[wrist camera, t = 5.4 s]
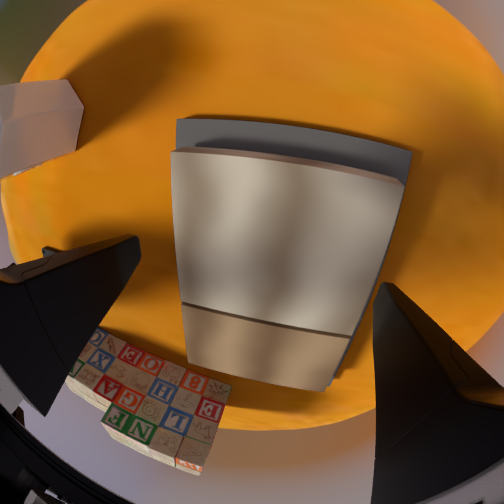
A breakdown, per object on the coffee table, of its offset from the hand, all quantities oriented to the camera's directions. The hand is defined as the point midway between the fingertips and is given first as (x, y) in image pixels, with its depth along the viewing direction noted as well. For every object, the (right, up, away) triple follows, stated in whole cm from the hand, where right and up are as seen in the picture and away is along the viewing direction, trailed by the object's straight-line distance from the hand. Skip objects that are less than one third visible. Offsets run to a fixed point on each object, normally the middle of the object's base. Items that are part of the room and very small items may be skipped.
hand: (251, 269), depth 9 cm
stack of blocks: (-13, -15, +25) cm, 32 cm away
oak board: (+1, -8, +15) cm, 17 cm away
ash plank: (+2, +1, +10) cm, 10 cm away
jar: (-19, +14, +10) cm, 26 cm away
